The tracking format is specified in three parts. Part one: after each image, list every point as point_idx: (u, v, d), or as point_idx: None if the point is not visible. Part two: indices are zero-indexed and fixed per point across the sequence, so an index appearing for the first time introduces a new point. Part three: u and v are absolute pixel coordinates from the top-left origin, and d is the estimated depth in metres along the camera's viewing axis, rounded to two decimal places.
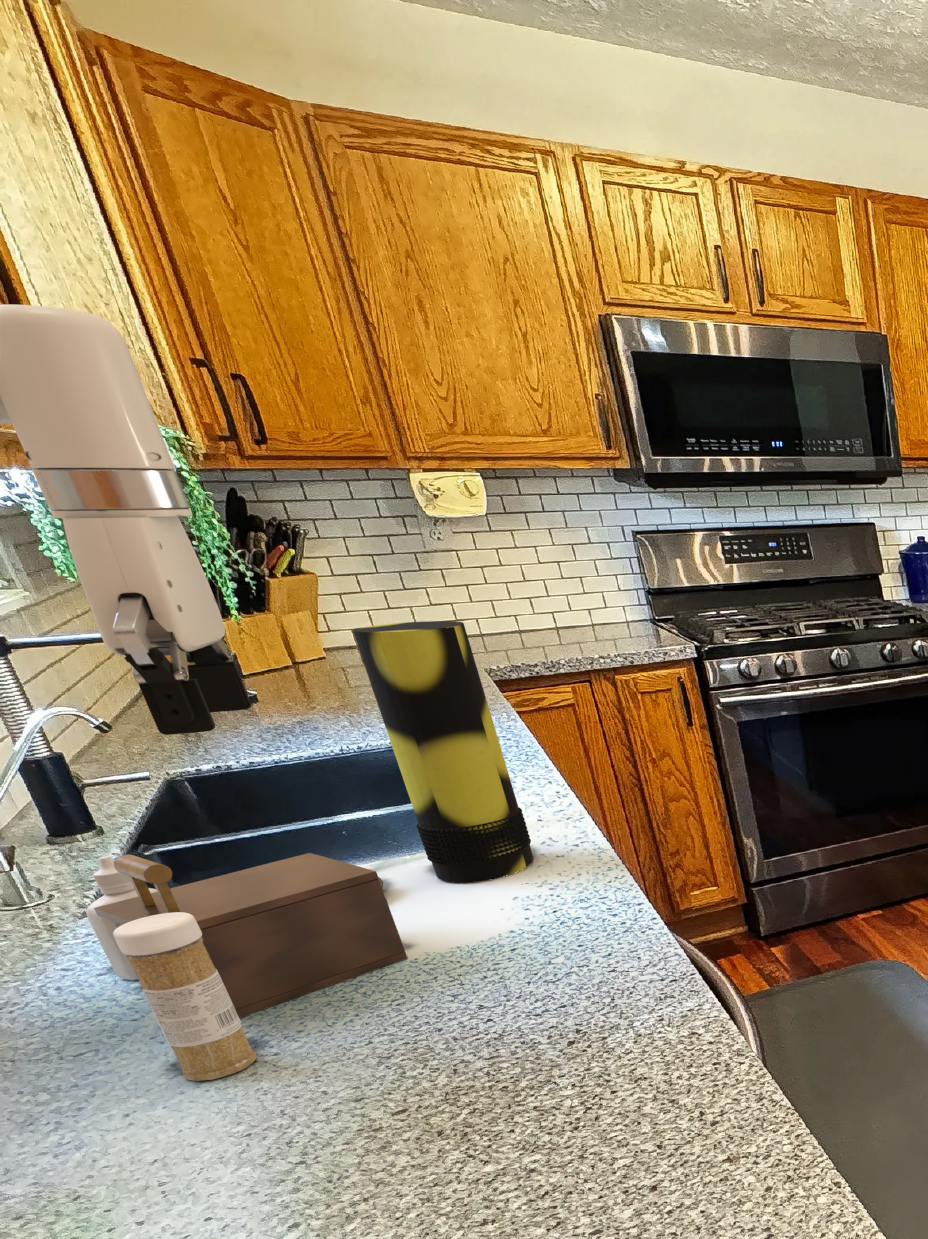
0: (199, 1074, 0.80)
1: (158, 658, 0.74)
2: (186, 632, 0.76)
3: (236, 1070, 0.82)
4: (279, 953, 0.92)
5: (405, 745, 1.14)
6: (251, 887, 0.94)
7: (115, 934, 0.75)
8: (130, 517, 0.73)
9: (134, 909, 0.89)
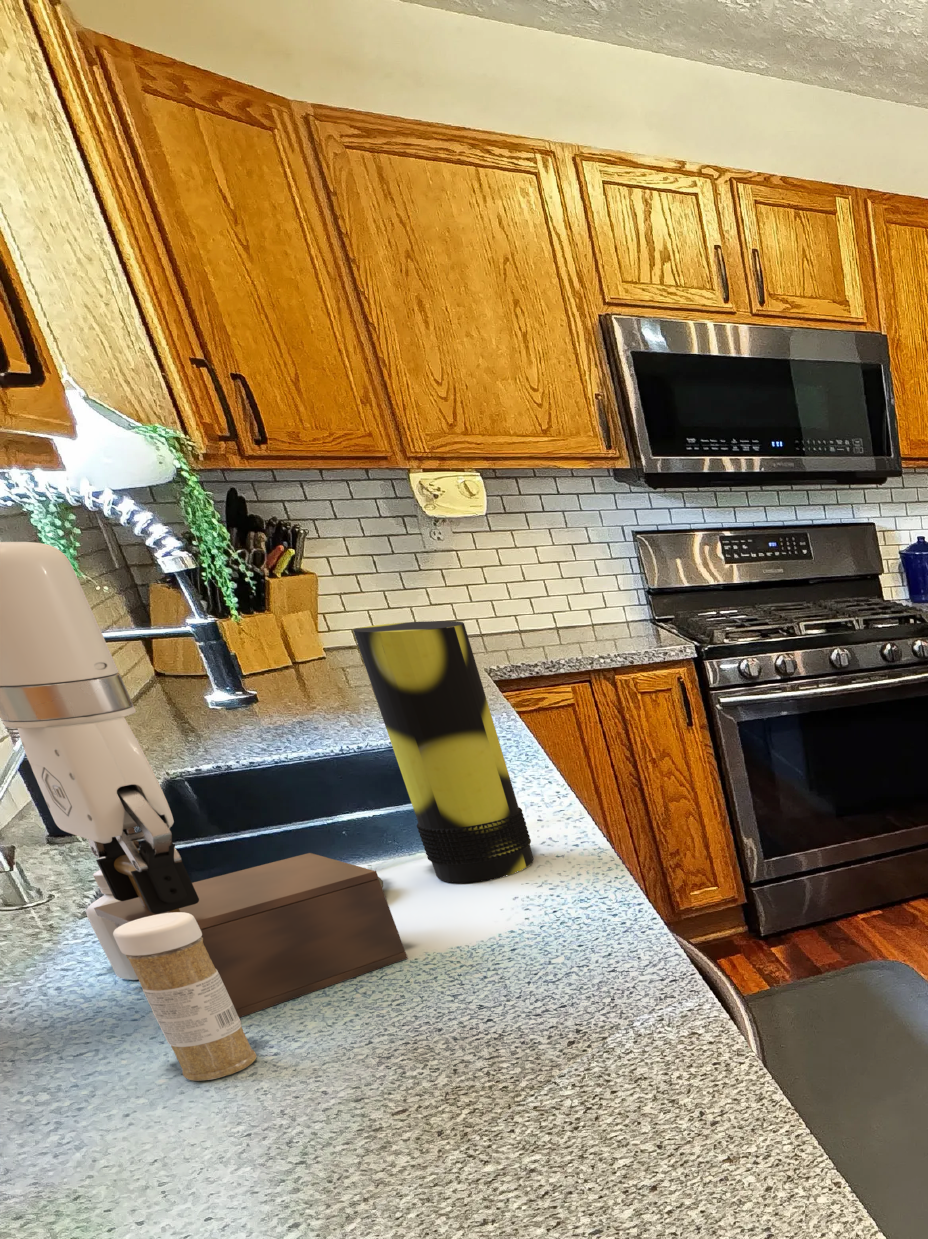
0: (199, 1074, 0.80)
1: (172, 845, 0.85)
2: (171, 813, 0.85)
3: (236, 1070, 0.82)
4: (279, 953, 0.92)
5: (405, 745, 1.14)
6: (251, 887, 0.94)
7: (115, 934, 0.75)
8: (115, 719, 0.82)
9: (134, 909, 0.89)
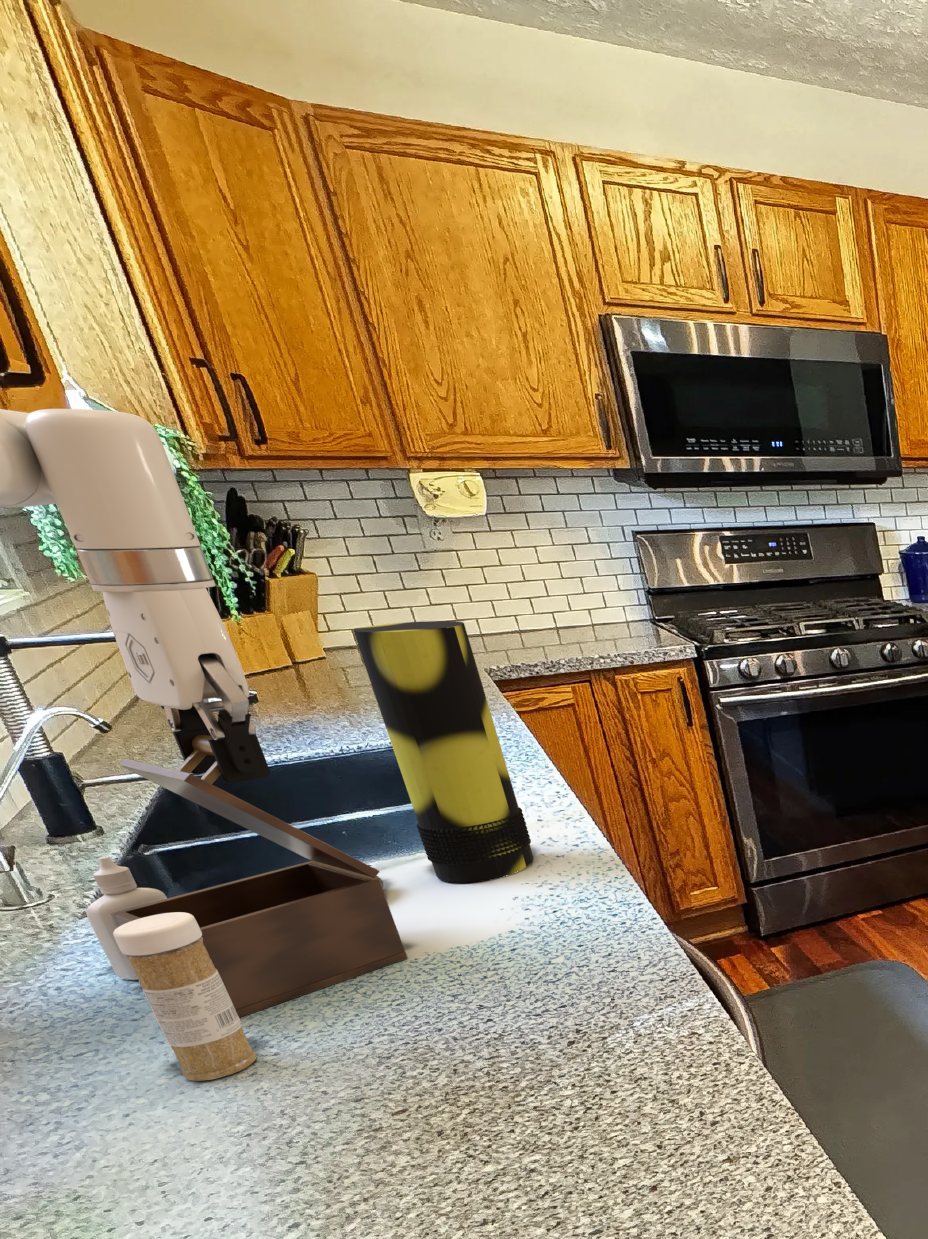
0: (199, 1074, 0.80)
1: (248, 715, 0.88)
2: (247, 685, 0.88)
3: (236, 1070, 0.82)
4: (279, 953, 0.92)
5: (405, 745, 1.14)
6: None
7: (115, 934, 0.75)
8: (197, 588, 0.85)
9: None
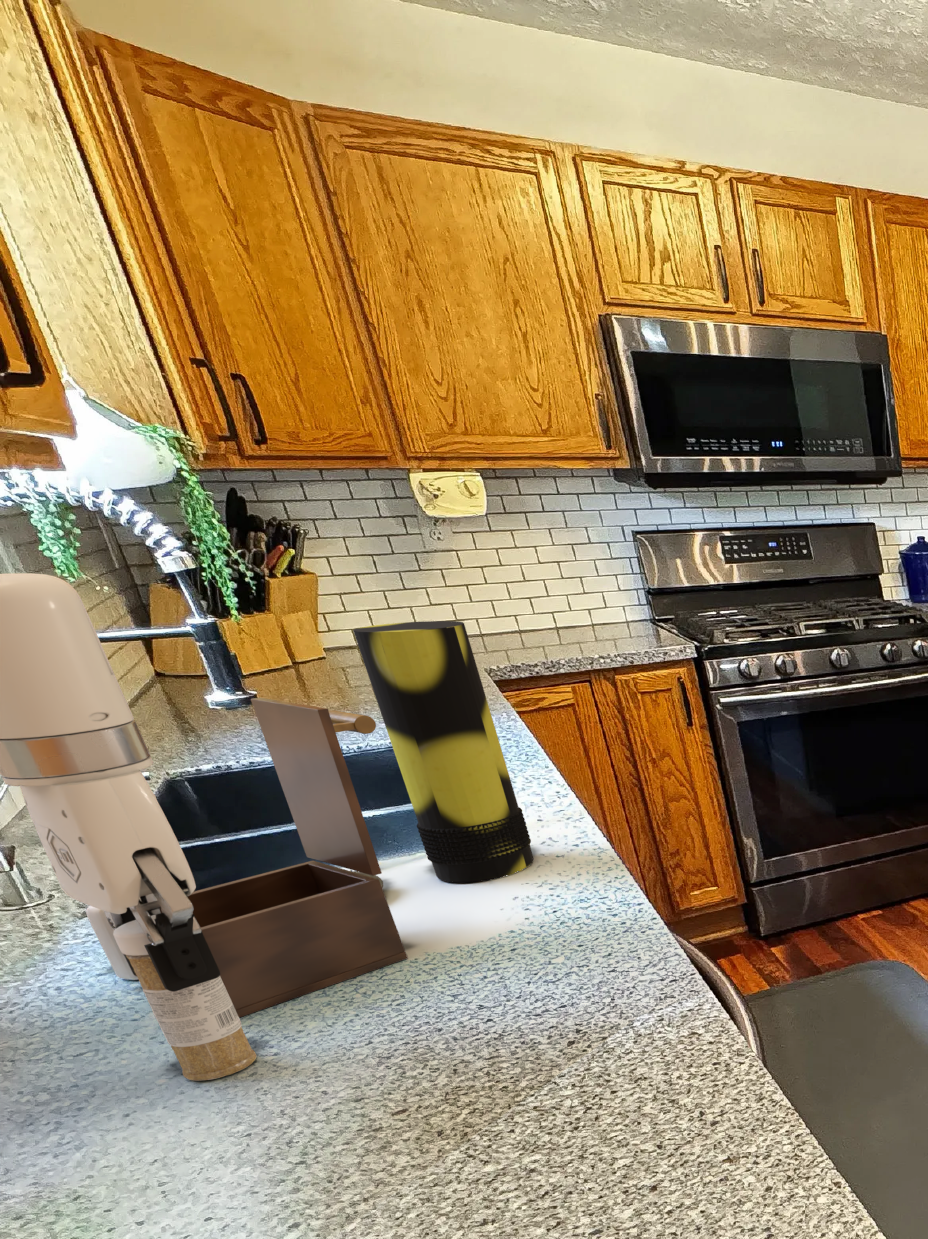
0: (199, 1074, 0.80)
1: (191, 916, 0.75)
2: (192, 877, 0.76)
3: (236, 1070, 0.82)
4: (279, 953, 0.92)
5: (405, 745, 1.14)
6: None
7: (115, 934, 0.75)
8: (130, 773, 0.72)
9: None
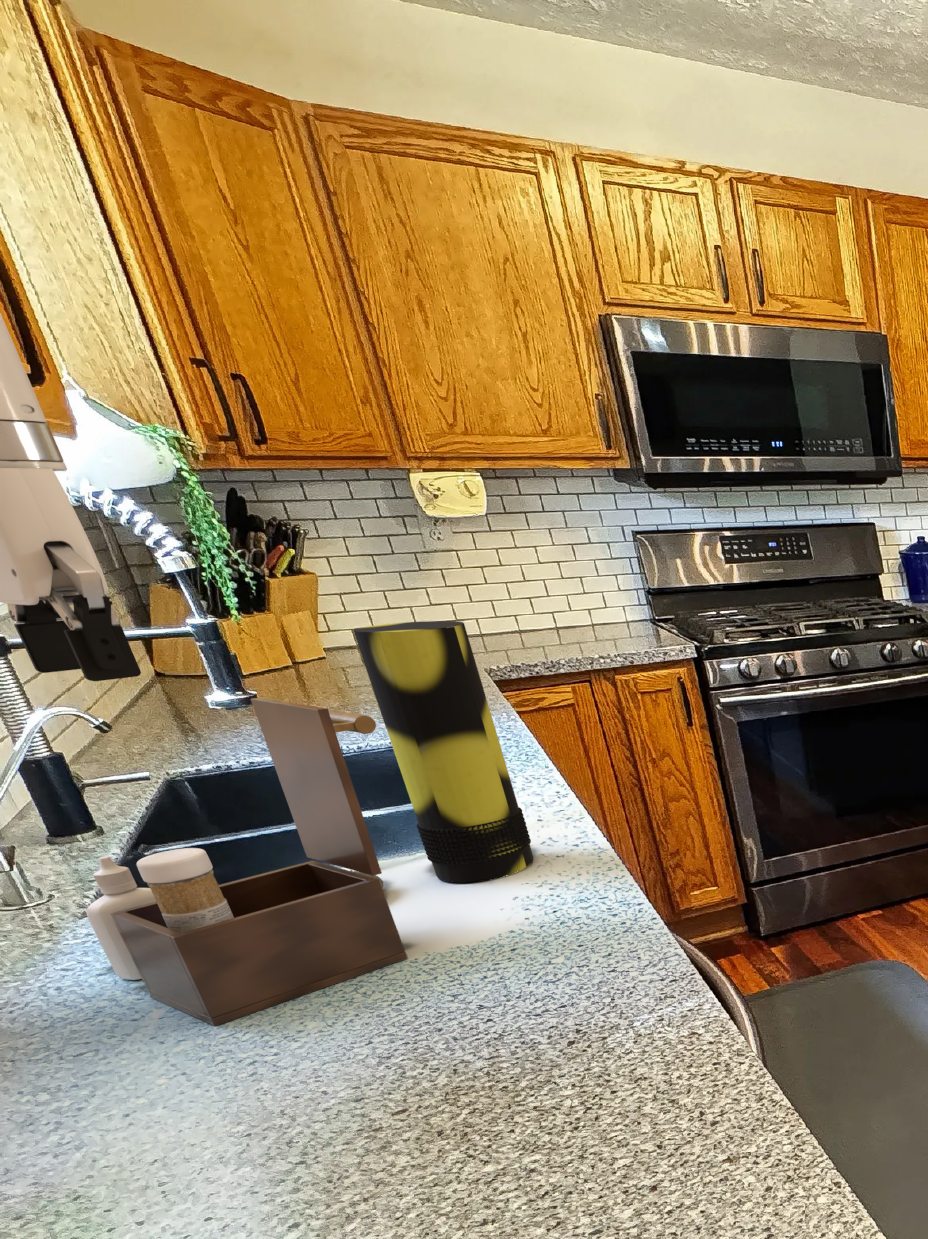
0: None
1: None
2: (105, 580, 0.80)
3: None
4: (279, 953, 0.92)
5: (405, 745, 1.14)
6: None
7: (138, 864, 0.87)
8: (41, 468, 0.76)
9: None
